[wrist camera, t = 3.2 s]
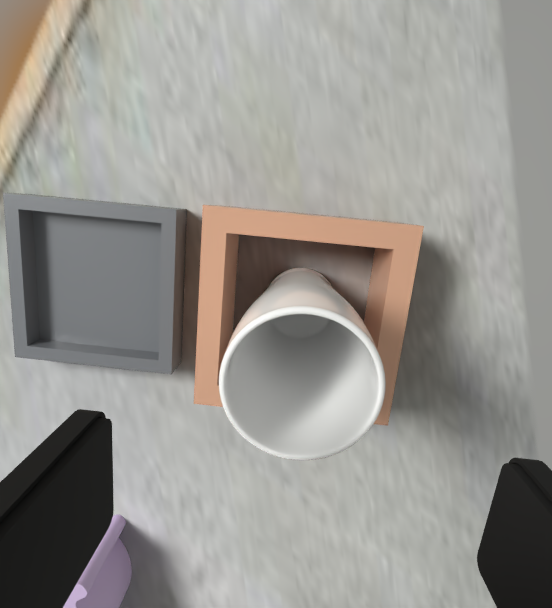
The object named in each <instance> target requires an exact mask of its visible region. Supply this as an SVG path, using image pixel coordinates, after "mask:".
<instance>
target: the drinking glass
mask: <svg viewBox="0 0 552 608" xmlns="http://www.w3.org/2000/svg"><path fill="white" fill-rule="evenodd" d="M385 383H386V381H385V372H384V367H383V364H382V360H381V358H380V355H379V353H378V350H377V348H376V345H375V343H374V341H373V338H372V336H371V334H370V332H369V330H368V328H367V327H366V325H365V323H364V322H363V320H362V319H361V317H360V316H359V314H358V313H357V312H356V310H355V309H354V308H353V307H352V306H351V305H350V303H349V302H348V301H347V300H346V299H345V298H343V297H342V296H341V295H340V294H339V293H338V292H337V291H336V290H335V289H334V288H333V287H332V285H331V284H330V282H329V281H328V280H327V279H326V278H325V277H324V276H323V275H322V274H320V273H318V272H317V271H314V270H312V269H308V268H293V269H289V270H287V271H284V272H282V273H281V274H279V275H278V276H277V277H276V278H275V279H274V280H273V281H272V282H271V283H270V285H269V287H268V288H267V289H266V290H265V291H264V292H263V293H262V294H261V295H260V296H259V297H258V298H257V299H256V301H255V302H254V303H253V304H252V305H251V306H250V307H249V308H248V310H247V311H246V312H245V314H244V315H243V316H242V318H241V319H240V321H239V323H238V325H237V326H236V328H235V330H234V332H233V334H232V336H231V339H230V341H229V343H228V346H227V349H226V352H225V354H224V357H223V360H222V363H221V367H220V373H219V392H220V398H221V402H222V405H223V408H224V410H225V413H226V415H227V417H228V419H229V420H230V422H231V423H232V425H233V426H234V428H235V429H236V430H237V431H238V432H239V433H240V434H241V435H242V436H243V437H244V438H245V439H246V440H247V441H248V442H249V443H251V444H252V445H254V446H255V447H257V448H259V449H260V450H262V451H264V452H266V453H269V454H271V455H274V456H277V457H280V458H284V459H290V460H316V459H322V458H326V457H329V456H332V455H335V454H338V453H340V452H342V451H344V450H346V449H347V448H349V447H351V446H352V445H354V444H355V443H356V442H358V441H359V440H360V439H361V438H362V437H363V436H364V435H365V434H366V433H367V432H368V431H369V429H370V428H371V427H372V425H373V424H374V422H375V421H376V419H377V417H378V415H379V413H380V410H381V408H382V405H383V401H384V396H385Z"/></svg>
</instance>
